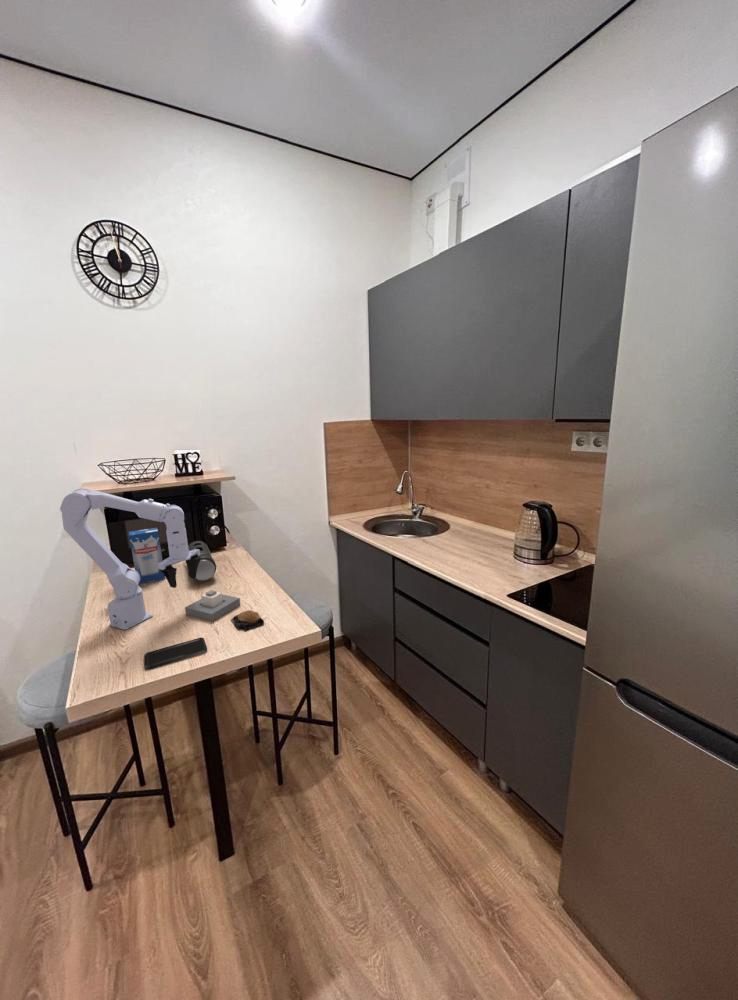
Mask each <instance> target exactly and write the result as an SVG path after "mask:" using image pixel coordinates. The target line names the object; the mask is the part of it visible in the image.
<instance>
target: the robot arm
mask: <svg viewBox="0 0 738 1000" xmlns="http://www.w3.org/2000/svg"><path fill="white" fill-rule="evenodd" d="M104 507H107V508H111V509H117V510H121V511H126V512H133V513H135V514H136V515H137V516H138V518H141V519H145V520H149V521H155V522H159V523H164V525H165V526H166V531H165V533H166V539H167V540H166V541H167V545H168V546H167V547H168V554H169V557H167V558H165V559H164V560H163V561H162V562H160V563H158V568H159V569H160V571H161V572H162V573H163V574H164V576H165V579H166V580H167V583H168V584H169V587H170V588H173V589H176V588H177V570H178V568H177V567H174V565H177V564H179V563H182V562H184V561H185V564H186V567H187V570H188V576H189V579H193V580H196V579H195V578H196V572H197V568H198V565H199V562H200V560H201V558H200V557H198V556H199V555H200V551H201V549H194V550H191V551H189V550H188V546H189V543H188V537H187V535H188V534H187V529H186V524H185V513H184V511H183V509H182V508H181V507H180V506H178V505H176V504H170V503H166V504H164V503H161V502H157V501H154V499H152V498H148V499H142V500H141V501H136V500H133V499H128V498H126V497H125V498H124V497H121V496H117V495H114V494H112V493H111V494H110V493H107V492H103V491H100V490H93V489H91V490H90V489H88V488H77V489H75V490H74V491H72V492H71V493H68V494H67V495H65V497H64V498H63V499H62V502H61V505H60V508H59V510H60V512H61V518H62V527H63V529H64V531H65V532H66V533H67V534H68V536H70V537H71V538H72V539H73V541H74V542H76V544H77V545H78V546H79V547H80V548H81V549H82V550H83V551H84V552H85V553H86V555H88V556H89V558H91V559H92V561H93V562H94V564H96V565H97V566H98V567H99V569H101V570H102V571H103V573H104V574H105V575H106V577H107V580H108V583H109V584H110V585H111V586H112V588H113V592H114V594H115V597H114V598H113V599H112V600H111V601H109V602H108V604H107V612H108V616H109V617H108V618H109V624H108V625H109V626H110V627H114V628H118V629H120V630H126V631H127V630H128V629H130V628H132V627H134V626H136V625H138V624H139V623H142V622H143V621H146V620H148V619H150V618H152V617H153V614H151V613H147V611H146V604H145V599H144V592H143V588H141V586H139V585H140V584H139V582H140V574H139V573H138V572H137V571H136V570H135V569H132V568H131V567H129V566H128V564H126V563H123V562H122V561H121V560H120V559H119V558H118V557H117V556H116V555H115V553H114V552H113V551H112V550H111V548H109V547H108V545H106V544H105V542H104V541H103V540H102V539H101V537H99V535H97V534H96V533H95V531H93V529H92V528H91V527H90V526H89V525H88V524H87V520H88V517H89V512H90V511H94V510H97V509H101V508H104Z"/></svg>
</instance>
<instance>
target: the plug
mask: <svg viewBox="0 0 738 1000" xmlns="http://www.w3.org/2000/svg"><path fill="white" fill-rule="evenodd" d="M200 599H201V600H202V605H203V606H207V607H211V608H215V607H216V606H218V605H220V604H222V603H223V601H222V592H219V591H217V590H212V589H210V590H208V591H207V592H205V593H203V594H201V595H200Z"/></svg>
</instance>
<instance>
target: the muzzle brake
mask: <svg viewBox="0 0 738 1000" xmlns="http://www.w3.org/2000/svg"><path fill="white" fill-rule="evenodd" d="M194 549H199V550H200V555H199V556H198V557H200V558H201V560H200V562H199V565H198V568H197V572H196V578H195V579H194V580H197V581H202V582H204V581H208V580H210V579H211V578H212V577H213V576H214V575H215V573H216V571H217V564H216V561H215V560H214V558H213V556H212V553H211V551H210V549H209V547H208V544H206V543H205V541H202V540H195V541H191V542H190V543H188V550H189V551H191V550H194Z"/></svg>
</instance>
